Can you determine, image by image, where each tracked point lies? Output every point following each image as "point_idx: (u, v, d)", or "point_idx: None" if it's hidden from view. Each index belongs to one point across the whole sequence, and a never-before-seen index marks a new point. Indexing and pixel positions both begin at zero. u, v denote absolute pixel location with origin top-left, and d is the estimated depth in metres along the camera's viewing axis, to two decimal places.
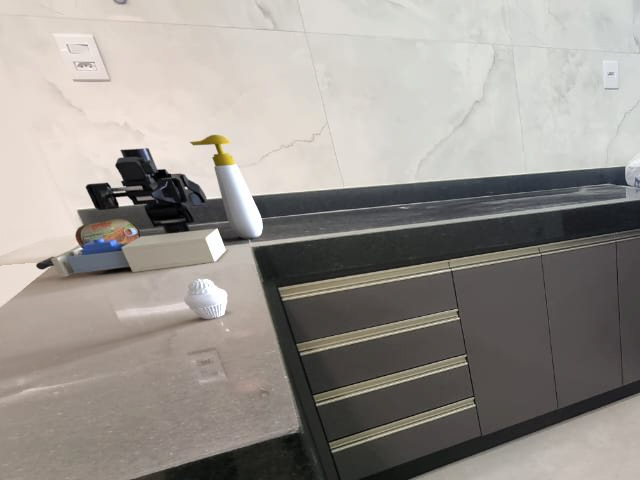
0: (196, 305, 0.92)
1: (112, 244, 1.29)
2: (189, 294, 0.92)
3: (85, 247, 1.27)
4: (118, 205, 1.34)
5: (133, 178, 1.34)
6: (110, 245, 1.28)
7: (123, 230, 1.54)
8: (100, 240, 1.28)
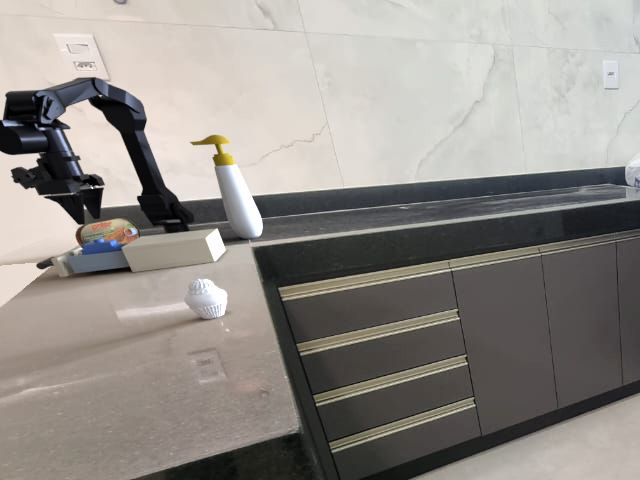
0: (196, 305, 0.92)
1: (112, 244, 1.29)
2: (189, 294, 0.92)
3: (85, 247, 1.27)
4: (93, 177, 1.28)
5: None
6: (110, 245, 1.28)
7: (123, 230, 1.54)
8: (100, 240, 1.28)
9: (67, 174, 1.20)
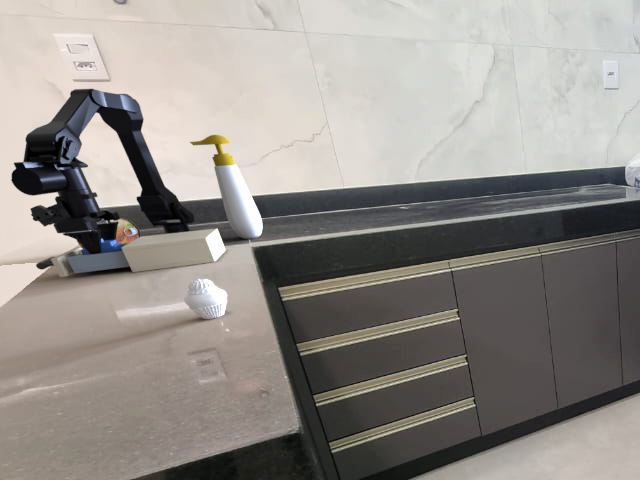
0: (196, 305, 0.92)
1: (112, 244, 1.29)
2: (189, 294, 0.92)
3: None
4: (108, 212, 1.31)
5: None
6: (110, 245, 1.28)
7: (123, 230, 1.54)
8: None
9: (85, 211, 1.24)
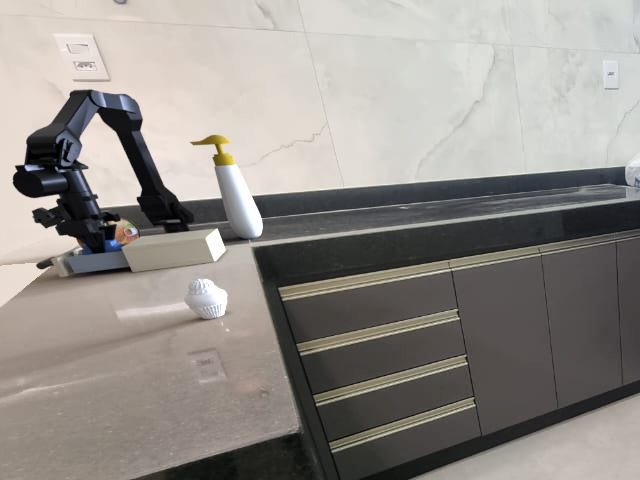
0: (196, 305, 0.92)
1: (112, 244, 1.29)
2: (189, 294, 0.92)
3: (85, 247, 1.27)
4: (109, 213, 1.32)
5: None
6: (110, 245, 1.28)
7: (123, 230, 1.54)
8: None
9: (86, 213, 1.24)
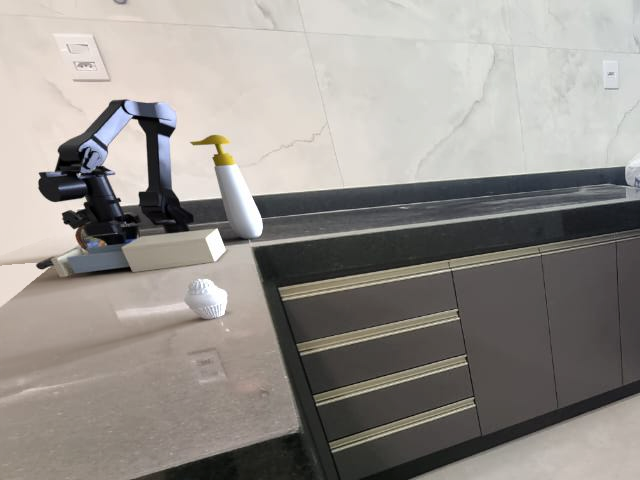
0: (196, 305, 0.92)
1: None
2: (189, 294, 0.92)
3: None
4: (131, 215, 1.42)
5: None
6: None
7: None
8: None
9: (110, 216, 1.35)
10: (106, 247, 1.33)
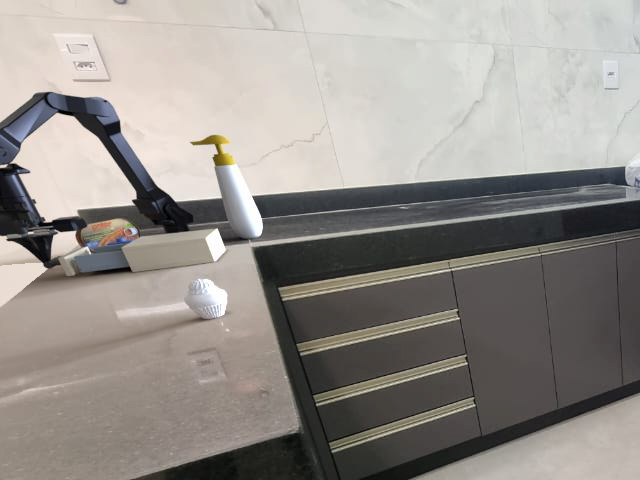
0: (196, 305, 0.92)
1: None
2: (189, 294, 0.92)
3: None
4: None
5: None
6: None
7: (123, 230, 1.54)
8: (122, 239, 1.39)
9: (40, 216, 1.23)
10: (112, 246, 1.34)
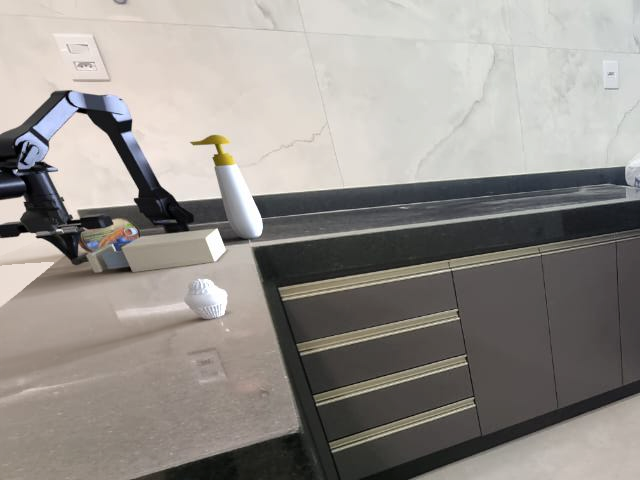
0: (196, 305, 0.92)
1: None
2: (189, 294, 0.92)
3: None
4: None
5: None
6: None
7: (123, 230, 1.54)
8: (122, 239, 1.39)
9: (68, 214, 1.25)
10: None
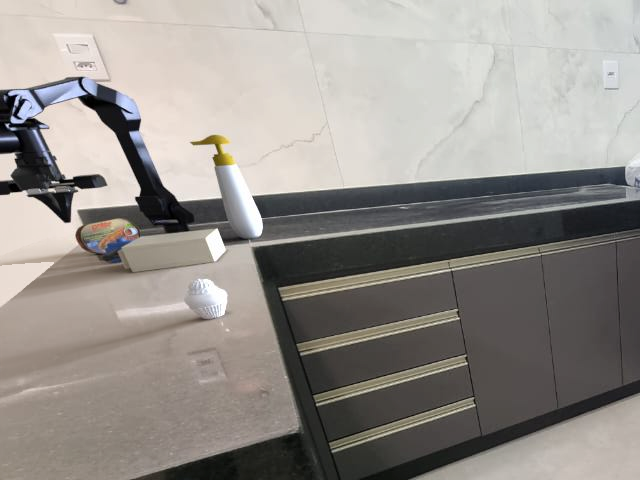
0: (196, 305, 0.92)
1: None
2: (189, 294, 0.92)
3: (108, 246, 1.37)
4: None
5: None
6: None
7: (123, 230, 1.54)
8: (122, 239, 1.39)
9: None
10: None
